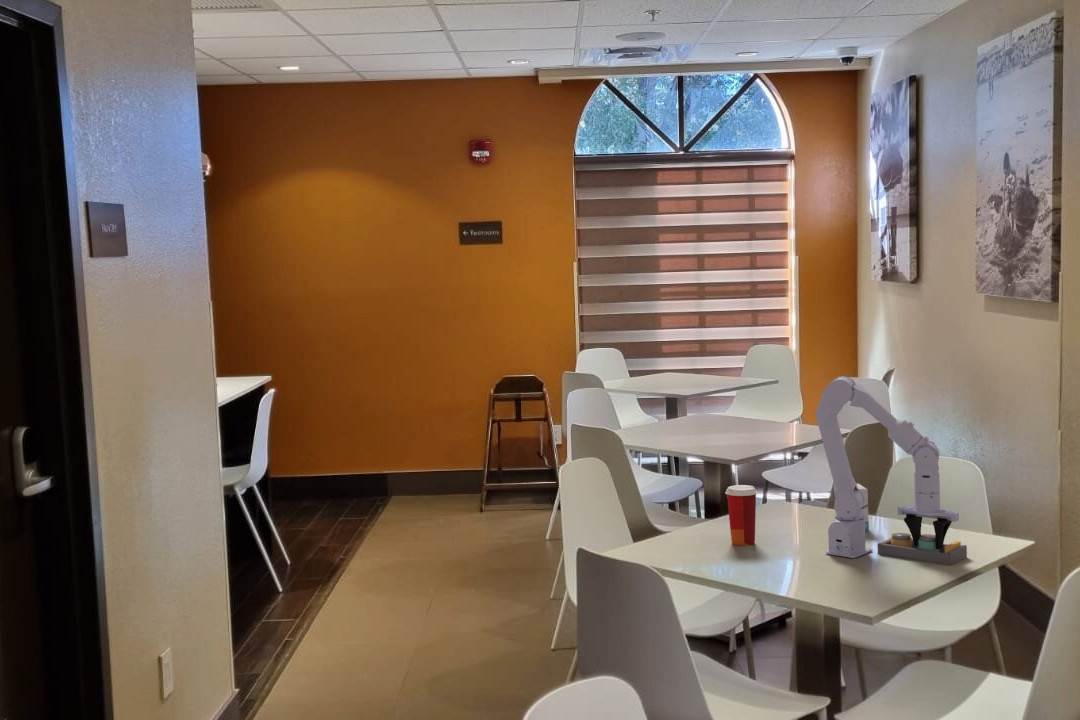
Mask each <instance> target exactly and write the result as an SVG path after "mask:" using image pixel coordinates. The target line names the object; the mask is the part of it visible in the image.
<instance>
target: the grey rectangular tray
mask: <svg viewBox="0 0 1080 720" xmlns="http://www.w3.org/2000/svg"><path fill="white" fill-rule="evenodd" d="M947 545H949V544H947V543H943V548H941V549H940V552H935V551H929V550H922V549H918V546H914V542H913V538H912V548H909V547H902V546H896V545H891V538H889V539H886V540H883V541H881V542H878V543H877V554H879V555H883V556H890V557H894V558H895V557H897V558H903V559H910V560H915V561H921V562H927V563H933V564H939V565H940V564H941V565H944V566H945V565H947V566H952V565H954V564H956V563H958V562H960V561H963V560H965V559H967V558H968V551H967V550H968V547H967V545H966V544H965V545H964V544H962V545H961V546H959V547H957V548H955V549H953V550H950V551H948V552H947V553H945V546H947Z"/></svg>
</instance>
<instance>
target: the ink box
mask: <svg viewBox="0 0 1080 720" xmlns="http://www.w3.org/2000/svg"><path fill="white" fill-rule="evenodd" d="M856 484H857V487H858V489H859V490H860V491H861V493H862V494H863V496H864V505H863V507H862V508H861V509H860V510H861V511H862V513H863V514H864V515H865V532H867V531H870V525H869V524H870V522H869V493H868V490H869V489H868V488H866V487H864V486H863V485H861V484H860V483H856Z"/></svg>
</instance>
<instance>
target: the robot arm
mask: <svg viewBox="0 0 1080 720" xmlns="http://www.w3.org/2000/svg"><path fill="white" fill-rule="evenodd" d="M847 403H849V406H850V407H855V408H861V409H863V410H864V411H866V412H867V413H868V414H869V415H871V417H873V418H874V419H875V420H876V421H877V422H879V423H880V424H881V425H882V426H883V427H885V428H886V429H887V434H888V435H887V436H888V438H889V439H890V440H892V442H893V443H895V444H896V445H897V446H898V447H900V449H901V450H903V452H905V453H906V454H907V455H910V456H911V458H912V461H913V463H914V466H915V467H914V468H915V469H914V470H915V472H914V474H913V476H914V478H913V479H914V506H909V505H908V506H907V505H900V506H898V507H897V515H899V516H903V515H904V516H905V517H904V519H903V521H904V523H905V524H906V526H907V529H908V530H909V532H910V533H909V534H910V535H911V538H912V539H913V542H914V546H918V539H919V536H920V535H922V522H923V518H928V519H935V520H934V521H932V525H933V529H934V533H935V534H934V535H935V537H936V549H938V550H939V549H941V548H943V544H945V543H944V541H945V538H946V535H947V533H948V530H949V528H950V526H951V524H952V523H953V522H954V523H956V522H959V520H960V515H959V512H957V511H950V510H946V509H941V488H940V487H941V485H940V473H939V469H940V467H939V460H940V451H939V448H938V446H937V444H936V443H935V442H933V441H930V438H929V437H928V436H924V435H923V434H922V433H920V432H919V431H918V430H917V429H916V428H915V427H914V425H915V424H914V423H913V422H912V421H909V422H908V421H907V420H906V419H897V418H896V417H895V416H894V415H893V414H892V413H891V412H890V411H889V410H887V408H886V407H884V406H883V405H882V404H881V403H880V402H879V401H878V400H877V399H876V398H875V397H874V396H873V395H872V394H871V393H870V392H869V391H868V390H866V389H865V388H864V387H863V386H862V385H860V384H858V383H856V382H855V381H854V380H853V378H851V377H849V376H844V375H843V376H838V377H836V378H835V379H833V380H832V381H830V382H829V383H828V384H827V385H826V387H825V388H824V389H823V390H822V393H821V396H820V399H819V402H818V404H817V408H816V411H815V418H816V422H817V425H818V429H819V434H820V437H821V440H822V444H823V448H824V451H825V452H824V453H825V455H826V459H827V462H828V467H829V470H830V474H831V477H832V481H833V494H834V497H835V500H834V504H833V508H834V511H835V513H834V520H833V522H832V523H831V524H830V525H829V527H828V529H827V530H828V531H827V533H828V534H827V535H828V550H827V551H825V554H827V555H834V556H839V557H844V558H851V559H856V558H859V557H860V556H863V555H866V554H868V553H870V552H873V548H871V547H870V548H869V547H867V546H866V531H865V515H864V514H863V513H862V511H861V510H860V509H861V508H862V507H863V505H864V496H863V494H862V493H861V491H860V490H859V489H858V487H857V484H858V483H857V482H856V479H855V478H854V476H853V473H852V469H851V465H850V462H849V459H848V458H849V457H848V455H847V451H846V447H845V443H844V440H843V436H842V431H841V429H840V423H839V421H838V415H839V414H840V411H842V409H843V407H844V406H845V405H846V404H847Z"/></svg>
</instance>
